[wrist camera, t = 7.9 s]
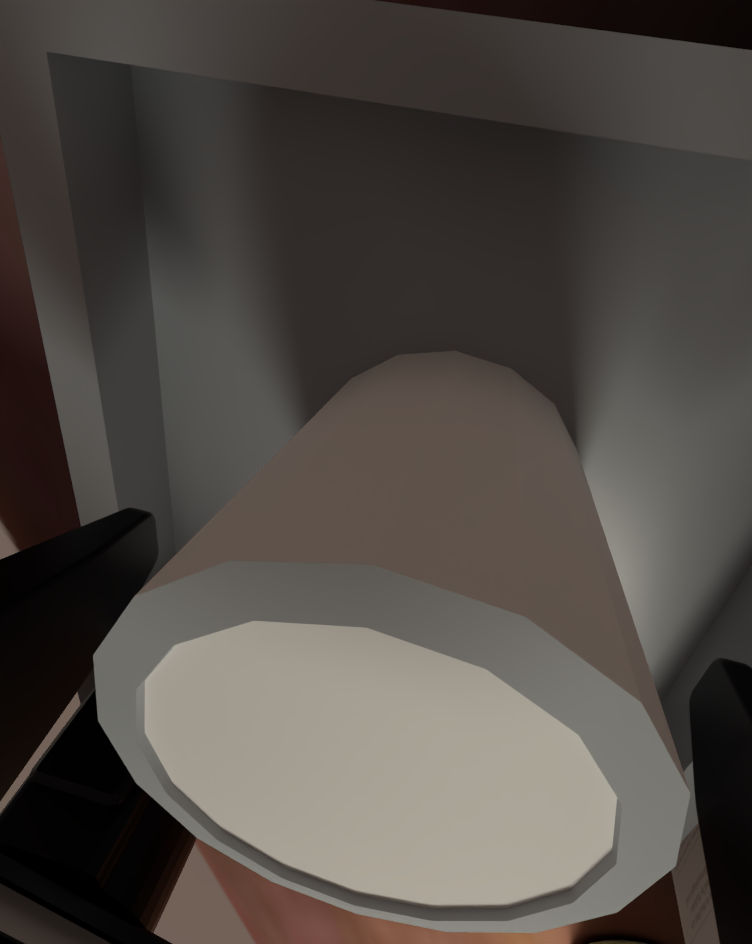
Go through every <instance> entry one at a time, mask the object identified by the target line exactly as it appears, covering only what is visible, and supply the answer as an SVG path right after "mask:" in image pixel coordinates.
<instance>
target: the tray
mask: <svg viewBox="0 0 752 944" xmlns="http://www.w3.org/2000/svg"><path fill="white" fill-rule="evenodd" d="M0 135H1V140H2V145H3V150H4V155H5V159H6V164H7V169H8V174H9V179H10V184H11V189H12V193H13V198H14V203H15V208H16V213H17V218H18V223H19V227H20V232H21V237H22V242H23V247H24V252H25V257H26V261H27V266H28V271H29V276H30V281H31V286H32V291H33V295H34V300H35V305H36V310H37V315H38V320H39V325H40V330H41V334H42V339H43V344H44V349H45V354H46V359H47V364H48V368H49V373H50V378H51V383H52V388H53V393H54V398H55V402H56V407H57V412H58V417H59V422H60V427H61V432H62V436H63V441H64V446H65V451H66V456H67V461H68V466H69V470H70V475H71V480H72V485H73V490H74V495H75V500H76V504H77V509H78V514H79V519H80V524H81V526H84V525H86V524H88V523H91V522H93V521H96V520H98V519H101V518H103V517H106V516H108V515H110V514H113V513H115V512H118V511H120V510H123V509H125V508H129V507H132V508H137V509H141V510H145V511H149V512H151V513H153V515H154V516H155V519H156V526H157V535H158V544H159V555H158V559H157V561H156V564H155V566H154V567H153V569H152V571H151V573H150V575H149V576H148V578H147V580H146V582H145V584H144V585H143V587H144V586H145V585H146V584H147V583H148V582H149V581H150V580H151V579H152V578H153V577H154V576H155V575H156V574H157V573H158V572H159V571H160V570H161V569H162V568H163V567H164V566H165V565H166V564H167V563H168V562H169V561H170V560H171V559H172V558H173V557H174V556H175V555H176V554H177V553H178V552H179V551H180V550H181V549H182V548H183V547H184V546H185V545H186V544H187V543H188V542H189V541H190V540H191V539H192V538H193V537H194V536H195V535H196V534H197V533H198V532H199V531H200V530H201V529H202V528H203V527H204V526H205V525H206V524H207V523H208V522H209V521H210V520H211V519H212V518H213V517H214V516H215V515H216V514H217V513H218V512H219V511H220V510H221V509H222V508H223V507H224V506H225V505H226V504H227V503H228V502H229V501H230V500H231V499H232V498H233V497H234V496H235V495H236V494H237V493H238V492H239V491H240V490H241V489H242V488H243V487H244V486H245V485H246V484H247V483H248V482H249V481H250V480H251V479H252V478H253V477H254V476H255V475H256V474H257V473H258V472H259V471H260V470H261V469H262V468H263V467H264V466H265V465H266V464H267V463H268V462H269V461H270V460H271V459H272V458H273V457H274V456H275V455H276V454H277V453H278V452H279V451H280V450H281V449H282V448H283V447H284V446H285V445H286V444H287V443H288V442H289V441H290V440H291V439H292V438H293V437H294V436H295V435H296V434H297V433H298V432H299V431H300V430H301V429H302V428H303V427H304V426H305V425H306V424H307V423H308V422H309V421H310V420H311V419H312V418H313V417H314V416H315V415H316V414H317V413H318V412H319V411H320V410H321V409H322V408H323V407H324V406H325V405H326V403H327V402H328V401H329V400H330V399H331V398H332V397H333V396H334V395H335V394H336V393H337V392H338V391H339V390H340V389H341V388H342V387H343V386H344V385H345V384H346V383H347V382H348V381H349V380H350V379H351V378H353V377H355V376H357V375H359V374H361V373H363V372H365V371H367V370H369V369H371V368H373V367H375V366H377V365H379V364H381V363H383V362H385V361H387V360H389V359H391V358H393V357H395V356H397V355H401V354H415V353H429V352H443V351H458V352H461V353H464V354H467V355H470V356H474V357H477V358H480V359H483V360H486V361H489V362H493V363H496V364H499V365H502V366H505V367H508V368H511V369H513V370H514V371H515V372H516V373H518V374H519V375H520V376H521V377H522V378H524V379H525V380H526V381H527V382H528V383H530V384H531V385H532V386H533V387H534V388H536V389H537V390H538V391H539V392H540V393H542V394H543V395H544V396H545V397H546V398H548V399H549V400H550V401H551V402H552V403H554V404H555V406H556V408H557V410H558V412H559V414H560V416H561V418H562V420H563V422H564V424H565V426H566V428H567V431H568V433H569V435H570V437H571V439H572V441H573V443H574V445H575V447H576V449H577V451H578V454H579V457H580V461H581V464H582V467H583V470H584V473H585V476H586V479H587V482H588V485H589V488H590V491H591V494H592V497H593V500H594V503H595V506H596V509H597V512H598V515H599V518H600V521H601V524H602V527H603V530H604V533H605V536H606V539H607V542H608V545H609V548H610V551H611V554H612V557H613V560H614V563H615V566H616V569H617V572H618V575H619V578H620V582H621V585H622V588H623V591H624V594H625V597H626V600H627V603H628V606H629V609H630V612H631V615H632V618H633V621H634V624H635V627H636V630H637V633H638V636H639V639H640V642H641V645H642V648H643V651H644V654H645V657H646V660H647V663H648V666H649V669H650V672H651V675H652V678H653V681H654V684H655V687H656V690H657V693H658V696H659V700H660V703H661V706H662V709H663V712H664V715H665V718H666V721H667V724H668V727H669V730H670V733H671V736H672V739H673V742H674V745H675V748H676V751H677V754H678V757H679V760H680V763H681V766H682V769H683V772H684V775H685V778H686V781H687V784H688V787H689V790H690V793H691V794H690V799H689V804H688V809H687V814H686V818H685V823H684V828H683V833H682V838H681V842H682V841H683V840H684V839H685V837H686V836H687V835H688V834H689V833H690V832H691V831H692V830H693V828H694V827H695V826H696V825H697V824H698V817H697V810H696V802H695V792H694V777H693V761H692V746H691V730H690V714H689V699H690V695H691V692H692V690H693V688H694V687H695V685H696V684H697V682H698V681H699V679H700V678H701V676H702V675H703V674H704V672H705V671H706V669H707V668H708V666H709V665H710V663H711V662H712V661H713V660H715V659H716V658H726V659H730V660H733V661H737V662H741V663H744V664H747V665H748V666H750V667H751V668H752V50H746V49H738V48H731V47H723V46H716V45H708V44H701V43H693V42H686V41H678V40H670V39H663V38H655V37H648V36H640V35H633V34H625V33H618V32H610V31H602V30H595V29H587V28H580V27H572V26H565V25H557V24H550V23H542V22H535V21H527V20H519V19H512V18H504V17H497V16H489V15H482V14H474V13H467V12H459V11H451V10H444V9H436V8H429V7H421V6H414V5H406V4H399V3H391V2H384V1H376V0H0ZM143 587H142V588H143Z"/></svg>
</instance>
